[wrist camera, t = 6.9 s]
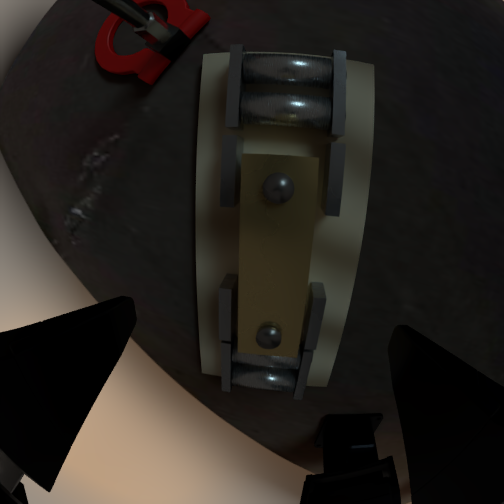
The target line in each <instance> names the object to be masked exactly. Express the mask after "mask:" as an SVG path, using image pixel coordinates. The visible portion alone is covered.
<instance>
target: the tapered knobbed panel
mask: <svg viewBox="0 0 504 504" xmlns="http://www.w3.org/2000/svg"><path fill="white" fill-rule="evenodd" d="M318 170H319V158H317V157H305V156H292V155H275V154H248V153H242V156H241V191H240V233H239V288H238V352H239V353H248V354H257V355H268V356H279V357H292V358H297V355H298V349H299V343H300V337H301V330H302V324H303V317H304V310H305V303H306V295H307V288H308V280H309V271H310V263H311V254H312V244H313V234H314V223H315V212H316V200H317V186H318Z"/></svg>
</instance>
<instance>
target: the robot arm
mask: <svg viewBox="0 0 504 504" xmlns="http://www.w3.org/2000/svg"><path fill="white" fill-rule="evenodd" d="M136 321H137V317H136V311H135V305H134V301H133V299H132V298H131V297H126V296H120V297H117V298H113V299H110V300H107V301H104V302H101V303H98V304H95V305H92V306H89V307H85V308H82V309H79V310H76V311H72V312H69V313H66V314H63V315H60V316H56V317H53V318H50V319H47V320H44V321H43V322H38V323H34V324H31V325H27V326H24V327H21V328H17V329H13V330H9V331H5V332H0V504H28V500H27V496H26V493H25V489H24V485H23V484H22V483H21V482H20V480H21V479H22V477H23V475H24V474H25V475H26V476H28V477H29V478H30V479H32V480H33V481H34V482H35V483H37V484H38V485H39V486H41V487H42V488H44V489H45V490H46V491H48V492H50V491H51V489H52V487H53V485H54V483H55V480H56V478H57V476H58V474H59V471H60V469H61V467H62V465H63V463H64V461H65V459H66V457H67V455H68V453H69V451H70V449H71V446H72V444H73V442H74V440H75V438H76V436H77V434H78V432H79V431H80V429H81V427H82V425H83V423H84V421H85V419H86V417H87V415H88V413H89V411H90V410H91V408H92V406H93V404H94V402H95V401H96V399H97V397H98V395H99V393H100V392H101V390H102V388H103V386H104V384H105V383H106V381H107V379H108V377H109V375H110V374H111V372H112V371H113V369H114V367H115V365H116V364H117V362H118V360H119V358H120V357H121V355H122V352H123V351H124V348H125V346H126V344H127V342H128V339H129V337H130V335H131V333H132V331H133V329H134V327H135V325H136ZM388 356H389V363H390V370H391V378H392V385H393V390H394V395H395V399H396V404H397V408H398V413H399V418H400V423H401V428H402V433H403V439H404V445H405V451H406V457H407V464H408V471H409V479H410V488H411V495H412V496H411V500H412V504H504V387H503V386H501V385H500V384H498V383H496V382H495V381H493V380H491V379H490V378H488V377H487V376H485V375H484V374H482V373H481V372H479V371H478V372H477V370H476V369H475V368H473V367H472V366H470V365H468V364H467V363H465V362H464V361H462V360H461V359H459V358H458V357H456V356H455V355H453V354H452V353H450V352H449V351H447V350H445V349H444V348H442V347H441V346H439V345H438V344H436V343H435V342H433V341H431V340H430V339H428V338H427V337H425V336H424V335H422V334H420V333H419V332H417V331H416V330H414V329H413V328H411V327H409V326H408V325H397V326H396V327H395V328H394V331H393V334H392V336H391V339H390V342H389V345H388ZM382 419H383V415H382V414H381V413H378V414H357V415H328V416H326V417H325V419H324V422H323V424H322V427H321V429H320V431H319V434H318V436H317V438H316V441H315V443H314V446H315V447H317V448H323V465H324V473H322V474H316V475H312V474H311V475H306V480H305V481H304V486H303V491H302V496H301V501H300V504H401V497H400V489H399V484H398V479H397V474H396V470H395V465H394V461H393V457H392V456H389V457H387V458H385V459H382V460H379V459H378V453H377V448H376V442H375V437H374V432H375V430H376V429H377V427H378V426H379V424H380V422H381V421H382Z"/></svg>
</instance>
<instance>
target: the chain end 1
mask: <svg viewBox="0 0 504 504" xmlns="http://www.w3.org/2000/svg"><path fill="white" fill-rule="evenodd" d="M346 79H347V71H346V52H345V51H339V50H333V53H332V55H331V58H323V57H314V56H304V55H291V54H269V53H247V52H246V50H245V48H244V46H243V44H241V45H231V47H230V60H229V73H228V87H227V102H226V119H225V127H226V128H229V129H231V130H238V131H244V124H255V125H276V126H290V127H302V128H312V129H322V130H327V137H333V138H340V137H342V136H344V135H345V120H346ZM246 84H275V85H292V86H304V87H314V88H323V89H329V97H322V96H313V95H302V94H290V93H272V92H246ZM243 149H244V138H242V137H240V136H238V135H222V156H221V182H220V207H232V208H234V207H235V206H236V205H237V204H239V203H240V191H241V156H242V153H243ZM345 152H346V144H342V143H334V142H331V143H328V144H326V151H325V165H324V177H323V189H322V200H321V210H322V211H323V213H324V214H325V215H326V216H336V217H339V215H340V207H341V198H342V188H343V178H344V166H345Z"/></svg>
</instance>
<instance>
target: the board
mask: <svg viewBox="0 0 504 504" xmlns="http://www.w3.org/2000/svg"><path fill="white" fill-rule="evenodd" d="M247 53H269V54H291V55H304V56H314V57H323V58H331V57H325V56H317V55H307V54H295V53H277V52H247ZM229 60H230V53H214V54H204V55H203V65H202V76H201V89H200V103H199V118H198V138H197V163H196V277H197V303H198V323H199V340H200V354H201V367H202V373H205V374H211V375H216V376H221V341H222V340H219V287H220V285H221V283H222V281H223V279H224V277H225V276H226V274H227V273H228V274H237V275H238V288H239V233H240V203H239V204H237V205H236V206H235V207H234V208H232V207H220V182H221V156H222V135H238V136H240V137H242V138H244V149H243V153H248V154H275V155H292V156H305V157H317V158H319V170H318V186H317V200H316V212H315V223H314V234H313V244H312V254H311V263H310V271H309V280H308V288H307V295H306V303H305V310H304V317H303V324H302V330H301V337H300V343H299V344H301V345H302V339H303V335H304V325H305V319H306V313H307V307H308V301H309V294H310V288H311V282H322V283H323V285H324V289H325V294H326V298H327V299H326V305H325V310H324V315H323V320H322V324H321V329H320V334H319V338H318V343H317V347H316V350H314V353H313V360H312V363H311V366H310V370H309V374H308V378H307V384H306V386H323V387H327V384H328V380H329V377H330V374H331V371H332V368H333V364H334V361H335V357H336V354H337V351H338V347H339V343H340V340H341V336H342V332H343V328H344V324H345V320H346V316H347V312H348V308H349V304H350V299H351V295H352V290H353V286H354V281H355V276H356V271H357V266H358V260H359V255H360V249H361V243H362V237H363V231H364V224H365V217H366V210H367V202H368V194H369V185H370V174H371V163H372V150H373V132H374V65H372V64H367V63H363V62H357V61H352V60H346V71H347V79H346V120H345V135H344V136H342V137H340V138H333V137H327V130H322V129H312V128H302V127H290V126H276V125H255V124H244V131H238V130H231V129H229V128H226V127H225V119H226V102H227V87H228V73H229ZM246 92H272V93H290V94H302V95H313V96H322V97H329V89H323V88H314V87H304V86H292V85H275V84H246ZM331 142H334V143H342V144H346V152H345V166H344V178H343V188H342V198H341V207H340V215H339V217H336V216H326V215H325V214H324V213H323V211H322V210H321V200H322V189H323V177H324V165H325V151H326V144H328V143H331ZM235 328H236V337H238V295H237V324H236V327H235ZM296 370H297V369H296Z"/></svg>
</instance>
